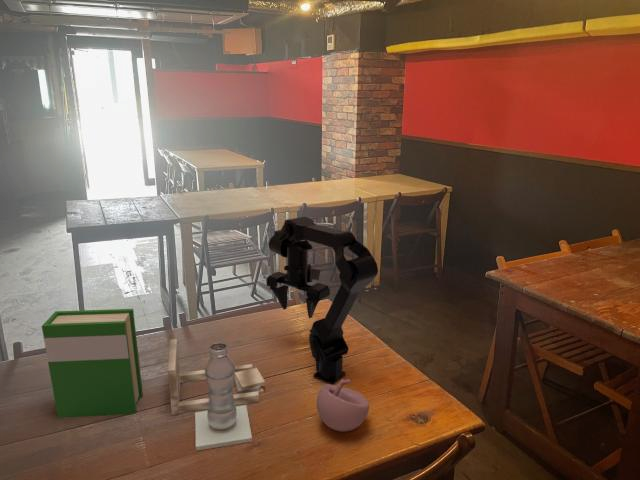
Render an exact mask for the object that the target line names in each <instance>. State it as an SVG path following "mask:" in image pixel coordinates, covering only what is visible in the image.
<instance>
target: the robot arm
mask: <svg viewBox="0 0 640 480" xmlns="http://www.w3.org/2000/svg"><path fill="white" fill-rule="evenodd" d="M273 233H274V234H273V236H271V238H270V239H269V242H268V249H269V251H270V252H272V253H273V254H274V253H275V254H276V255H278V256H280V257H283V258H286V265H285V266H284V267H283V270H284V271H287V272H286V273H284V272H281V271H277V272H273V273H272V274H270V275H268V276H267V277H266V279H265V280H266V282H265V283H266V286H267V287H269V289H270V291H272V292H273V294H274V295H275V296H276V297H275V298H277V300H278V302H279V304H280V306H281V308H282V309H283V310H284V311H285V310H287V308H288V307H287V306H288V289H289V287H290V288H293V289H297V290H299V291H303V292H306V297H307V298H305V303H306V304H305V305H306V310H307V311H306V312H307V316H308V318H309V319H312V318H313V317H314V313H315V311H316V308H317V306H318V304H319V302H320V301H321V300H324V299H326V298H328V297H329V296H330V295H331V288H330V286H329V285H327V284H324V283H320V282H317V283H315V284H313V285H310V284H311V283H312V282H313V280H316V281H319V279H320V275H321V269H319V268H316V267H312V265H311V264H310V263H309V252H308V251H310V250H313V249H314V247H313V246H312V244H310V242H312V243H316V244H319V245H323V246H327V247H329V248H332V250H333V252H334V261H335V262H334V263H335V266H336V267H337V269H338V271H339V276H338V277H339V281H340V283H341V284H340V286H339V289H338V290H337V292H336V294H335V297H334V299H333V301H332V303H331V305H330V307H329V309H328V311H327V313H326V316H325V317H324V318H320V319H317V320H315V321H314V322H313V323H312V326H311V329H310V330H309V337H308V338H309V339H308V341H309V347H310V351H311V357H312V358H313V359H314V362H315V372H314V374H313V378H315V379H318V380H320V381H323V382H325V383H327V384H331V385H335V384H336V383H337V381H340V379H341V378H342V377H344V376H345V375H346V371H344V370H343V355H347V354H348V352H349V350H350V349H349V346H348V344H347V342H346V341H345V338H344V329H343V327H342V326H343V325H344V324H345V321H346V319H347V317H348V315H349V313H350V311H351V309H352V308H353V305H354V303H355V302H356V300H357V298H358V296H359V295H360V292H361V291H362V290H363V289H365V288H367V286H368V285H369V284H371V283H372V282H373V280H374V279H375V278H376V277H377V276H378V274H379V268H378V263H377V262H376V260H375V258H374V256H373V255H372V253H371V251H370V250H369V249H368V248H367V247H366V246H365V245H363V244H362V243H361V242H360V241H358V240H357V238H356V237H355V235H354V234H353V233H352V232H351V231H347V230H346V231H343V230H339V229H336V228H332V227H329V226H324V225H319V224H316V223H315V221H314V220H313V219H311V218H309V217H308V216H300V217H295V218H294V217H293V218H289V219H285V220H284V223H283V225H282V226H281V229H279V230H274V232H273ZM345 249H348V250H349V251H350V252H352V253H353V254H354V255H356V256H357V257H355V258H352V259H349V260H348V259H347V258H346V257H345V251H344V250H345ZM309 283H310V284H309Z"/></svg>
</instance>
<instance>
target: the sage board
mask: <svg viewBox="0 0 640 480" xmlns="http://www.w3.org/2000/svg"><path fill="white" fill-rule="evenodd" d="M235 406H236V410H237V418H236V422H235V423H234V424H233V426H231V427H230V428H228V429H225V430H217V429H214V428H213V427H211V426H210V424H209V422H208V419H207V412H208V410H200V411H194V416H195V420H194V422H195V427H194V428H195V451H196V452H198V451H203V450H209V449H216V448H221V447H227V446H234V445H240V444H247V443H252V442H253V436H252V430H251V424H250V420H249V415H248V414H249V413H248V407H247V405H246V404H242V405H235Z"/></svg>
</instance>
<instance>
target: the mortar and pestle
mask: <svg viewBox="0 0 640 480" xmlns="http://www.w3.org/2000/svg"><path fill="white" fill-rule="evenodd" d="M350 383H351V380H350V379H349V378H348V379H341V380H339V382H338V384H337V385H335V384H330V383H327V384H322V385H321V387H320V389H319V390H318V392H317V396H316V397H317V398H316V411H317V413H318V415H319V418H320V420H321V421H322V422H323V424H325V425H326V426H327V427H329V428H330V429H332V430H334V431H337V432H349V431H350V432H351V431H352V430H354V429H357V428H359V426H360V425H362V424H363V422H364V421H365V420H366V419H367V416H368V414H369V410H370V403H369V401H368V399H367V398H366V397H365V396H364V395H363V394H361V393H360V392H359V391H357V390H353V389H351V388H348V387H344V386H345V385H349V384H350Z"/></svg>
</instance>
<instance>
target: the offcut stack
mask: <svg viewBox="0 0 640 480" xmlns="http://www.w3.org/2000/svg"><path fill="white" fill-rule="evenodd" d="M234 383H235V388H236V392H237V394H242V393H249V392H257V391H258V393H259V394H263V393H265V391H264V388H263V386H266V381H265V379H264V378H263V376H262V374H261V373H260V371H259V369H258V368H257V367H253V368H252V369H248V370H244V371H240V372H235V375H234Z"/></svg>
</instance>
